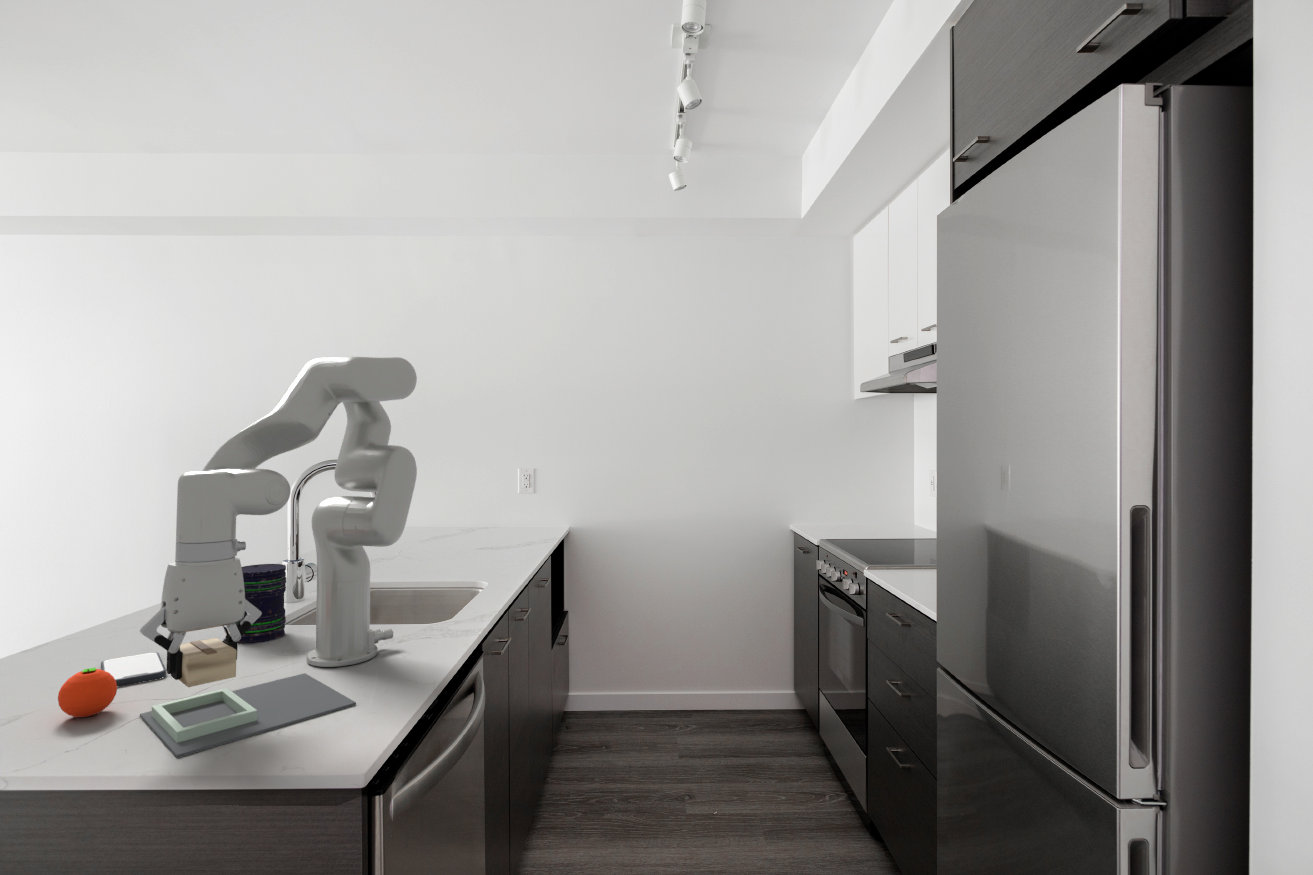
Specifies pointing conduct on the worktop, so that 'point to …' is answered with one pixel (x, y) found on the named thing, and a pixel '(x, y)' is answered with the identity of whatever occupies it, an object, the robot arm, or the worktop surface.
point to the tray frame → (181, 734)
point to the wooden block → (207, 662)
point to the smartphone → (135, 668)
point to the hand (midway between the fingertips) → (202, 670)
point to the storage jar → (265, 602)
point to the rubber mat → (274, 710)
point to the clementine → (87, 692)
